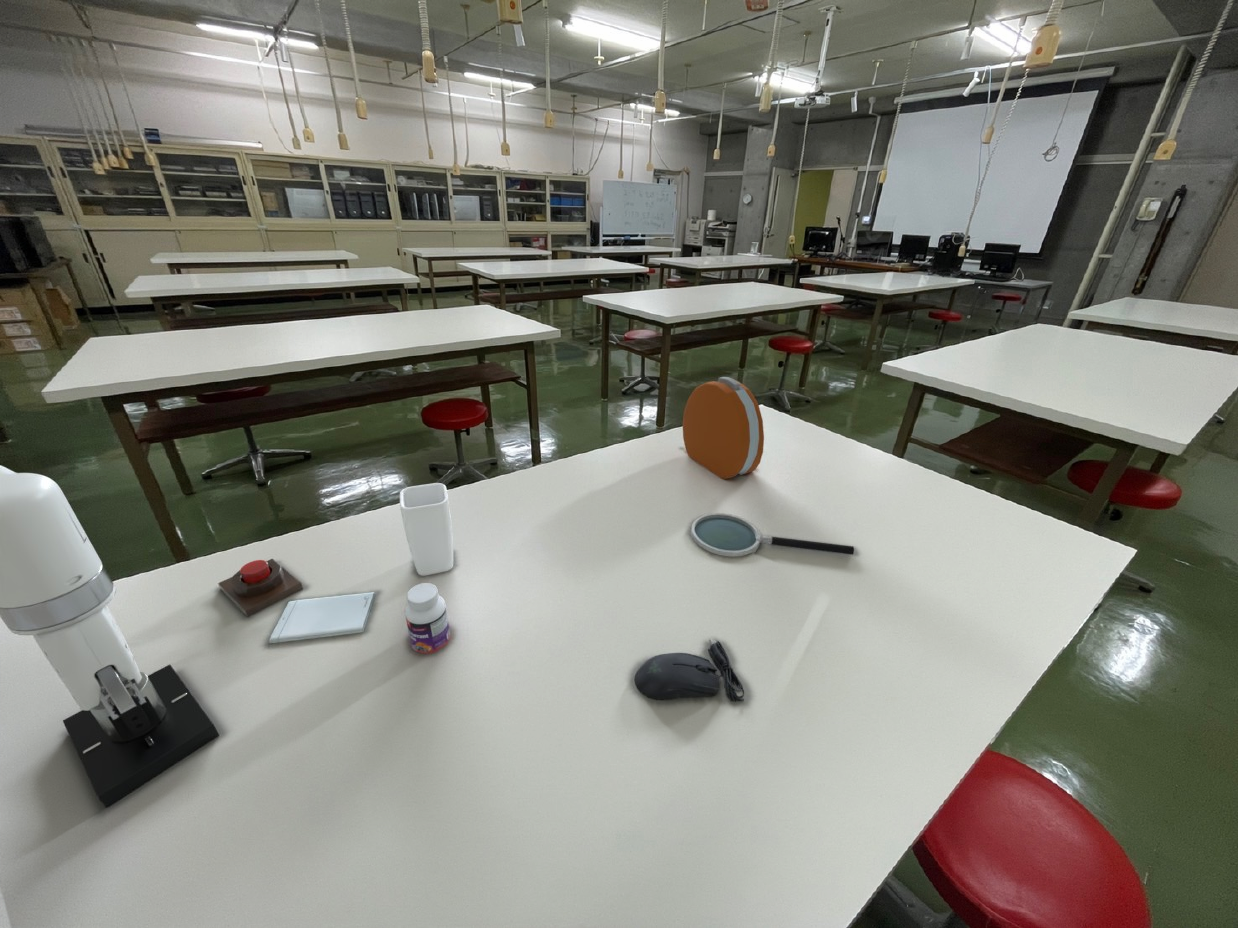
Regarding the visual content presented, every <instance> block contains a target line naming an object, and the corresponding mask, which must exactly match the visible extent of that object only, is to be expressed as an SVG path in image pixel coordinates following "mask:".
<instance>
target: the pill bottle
mask: <svg viewBox="0 0 1238 928" xmlns="http://www.w3.org/2000/svg"><path fill="white" fill-rule="evenodd" d="M406 599H407V604H406V607H405V609H404V616H405V621H406V626H407V631H408V636H409V640H410V645H411V647H412V649H413V650H414V651H415V652H417V653H420V654H430V653H434V652H437V651H439V650H441V649H442V648H444V647H445V646H446V645H447V644H448V642H449V641H450V640H451V639H450V638H451V631H450V624H449V617H448V612H447V605H446V601H445V600H444V598H443V597H442V596H441V595H440V594H439V591H438V587H437V586H436V585H435V584H433V583H430V582H422V583H418V584H416V585H414V586H413V587H411V588H410V589H409V590H408V592H407V593H406Z"/></svg>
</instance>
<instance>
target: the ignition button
mask: <svg viewBox="0 0 1238 928" xmlns="http://www.w3.org/2000/svg"><path fill="white" fill-rule="evenodd" d="M266 561H267V560H265V559H256V560H252V561H249V562H248V563H246V564H244V565H243V566H241V568H240V569H239V570H240V573H241V575H242V578H243V580H244V582H246V583H253V582H258V581H260V580H262V579H265V578H267V577H268V576H269V574H270V569H269V566H268V563H267V562H266Z"/></svg>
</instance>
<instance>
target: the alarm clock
mask: <svg viewBox="0 0 1238 928" xmlns="http://www.w3.org/2000/svg"><path fill="white" fill-rule="evenodd" d="M717 380H718V381H714V380H713V381H707V382H705V383H703V384H700V385H698V386H696V387H695V388H694V390H693V391H692V392H691V394H690V395H689V397H688V398H687V401H686V405H685V407H684V411H683V418H682V439H683V443H684V448H685V451H686V454H687V455H688V457H689V458H690V459H692V460H693V461H694V462H696V463H697V464H699V465H701V466H702V467H703V468H705V469H706V470H708V471H709V472H711V473H713V474H714V475H715V476H717V477H718V478H720V479H722V480H728V479H731V478H734V477H737V476H738V475H740V476H742V475H745V474H749V473H752V472H753V471H756V470H757V468H758V466H759V465H760V464H761V461H762V457H763V453H764V443H765V433H764V420H763V416H762V412H761V409H760V405H759V402H758V401H757V399H756V398H755V396H754V394H753V393H752V391H751V389H750V388H748V387H747V386H746V385H744V384H743V383H741V382H740V381H738V380H736V379H734V378H732V377H729V376H722V377H718V379H717Z"/></svg>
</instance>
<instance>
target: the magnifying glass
mask: <svg viewBox="0 0 1238 928" xmlns="http://www.w3.org/2000/svg"><path fill="white" fill-rule="evenodd" d="M690 529H691V530H690V534H691V537H692V540H693V541H694V542H695V543H696V545H698V546H699V547H700V548H702V549H704V550H705V551H707V552H710V553H711V554H715V555H718V556H723V557H733V558H734V557H742V556H747V555H749V554H755V553H756V552H757V551H758V549H759V548H760V544H767V545H772V546H780V547H788V548H796V549H803V550H804V549H805V550H813V551H821V552H827V553H837V554H844V555H845V554H846V555H851V556H852V555H854V553H855V547H854V545H853V546H852V545H844V544H837V543H827V542H819V541H812V540H811V541H810V540H803V539H796V538H787V537H780V536H779V537H778V536H766V535H765V536H764V535H761V532H760V530H759V529H758V528H757V527H756V526H755V525H754V524H753V523H751V521H749V520H747V519H745V518H743V517H741V516H738V515H734V514H730V513H725V512H724V513H723V512H712V513H706V514H702V515H701V516H699V517H697V518H696V519H695V520H693V522H692V524H691V528H690Z"/></svg>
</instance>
